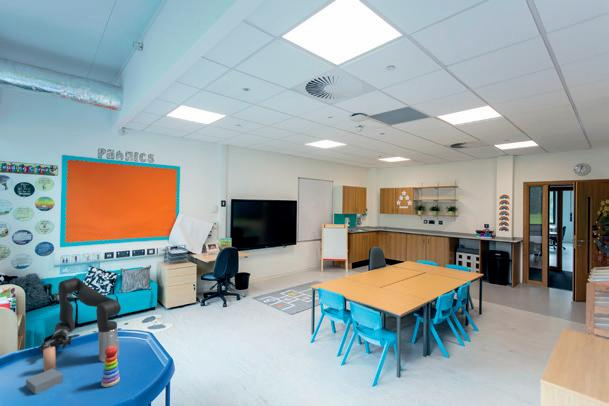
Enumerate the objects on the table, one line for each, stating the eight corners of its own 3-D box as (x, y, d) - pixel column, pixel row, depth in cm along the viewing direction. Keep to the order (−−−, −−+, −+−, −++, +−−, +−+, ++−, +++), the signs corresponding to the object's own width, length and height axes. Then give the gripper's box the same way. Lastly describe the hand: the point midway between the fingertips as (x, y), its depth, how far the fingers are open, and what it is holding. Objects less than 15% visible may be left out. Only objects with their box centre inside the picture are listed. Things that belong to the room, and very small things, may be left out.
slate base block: (53, 375, 159) (53, 368, 159) (62, 381, 154) (62, 374, 154) (26, 387, 150) (26, 379, 150) (35, 394, 144) (35, 386, 144)
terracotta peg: (53, 366, 167) (52, 345, 167) (57, 369, 165) (56, 348, 164) (42, 371, 163) (41, 349, 162) (46, 374, 160) (45, 352, 160)
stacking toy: (110, 388, 148) (110, 351, 148) (97, 386, 150) (96, 350, 149) (123, 379, 156) (122, 343, 156) (110, 377, 158) (109, 342, 157)
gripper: (44, 334, 183) (37, 345, 169) (73, 328, 190) (69, 339, 176) (45, 346, 183) (37, 358, 169) (74, 340, 190) (69, 352, 176)
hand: (53, 349), depth 173 cm, fingers open, 8 cm apart
